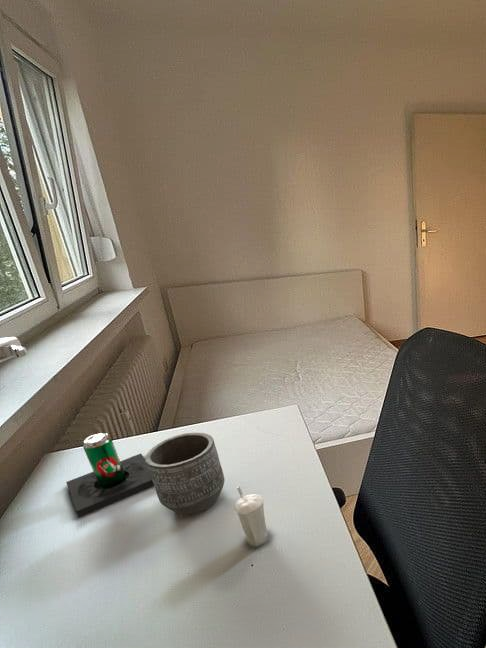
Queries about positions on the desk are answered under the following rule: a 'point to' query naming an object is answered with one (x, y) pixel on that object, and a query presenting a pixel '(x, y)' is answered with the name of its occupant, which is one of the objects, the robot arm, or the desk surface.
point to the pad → (93, 498)
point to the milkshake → (252, 518)
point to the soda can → (104, 460)
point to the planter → (186, 473)
